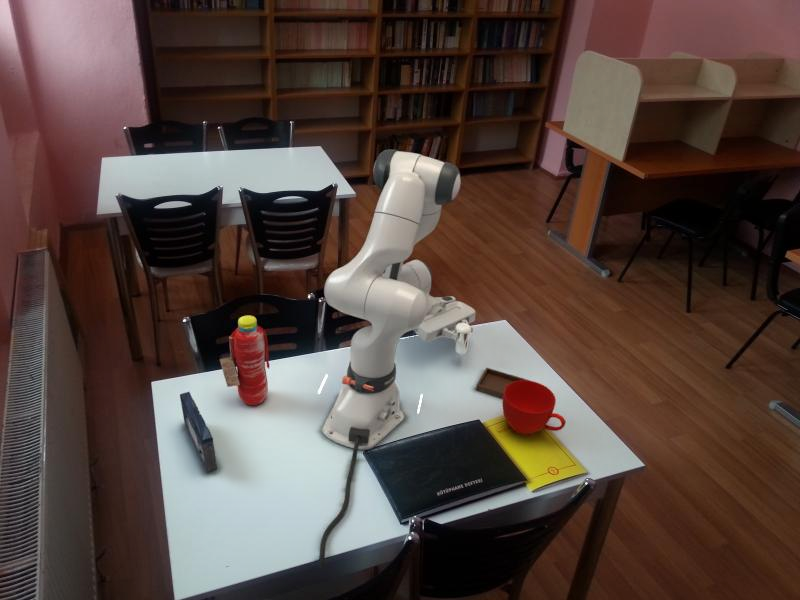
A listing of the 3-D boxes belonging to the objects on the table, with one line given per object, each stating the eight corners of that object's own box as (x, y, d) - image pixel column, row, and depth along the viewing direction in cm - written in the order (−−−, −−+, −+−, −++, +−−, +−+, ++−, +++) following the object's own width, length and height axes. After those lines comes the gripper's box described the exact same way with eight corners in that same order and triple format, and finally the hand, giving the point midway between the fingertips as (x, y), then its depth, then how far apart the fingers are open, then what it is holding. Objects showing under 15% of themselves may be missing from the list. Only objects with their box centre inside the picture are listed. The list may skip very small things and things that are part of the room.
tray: (529, 406, 165) (530, 401, 164) (475, 390, 170) (476, 384, 169) (537, 387, 173) (538, 382, 172) (485, 372, 178) (486, 367, 177)
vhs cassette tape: (184, 425, 152) (179, 393, 147) (196, 421, 153) (191, 390, 148) (204, 474, 138) (199, 441, 133) (217, 470, 140) (213, 437, 135)
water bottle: (225, 413, 156) (216, 331, 144) (223, 394, 163) (214, 314, 150) (273, 406, 160) (268, 325, 147) (269, 387, 166) (264, 308, 154)
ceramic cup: (545, 459, 148) (553, 428, 143) (488, 425, 158) (493, 395, 153) (571, 434, 157) (579, 403, 152) (516, 403, 166) (521, 373, 161)
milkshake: (447, 349, 179) (450, 321, 173) (463, 344, 181) (465, 316, 176) (456, 358, 175) (459, 329, 170) (471, 352, 178) (474, 324, 172)
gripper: (406, 315, 176) (439, 337, 167) (456, 294, 187) (489, 313, 179) (404, 333, 179) (437, 355, 170) (454, 311, 191) (487, 331, 182)
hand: (464, 334), depth 174 cm, fingers closed on milkshake, 4 cm apart
